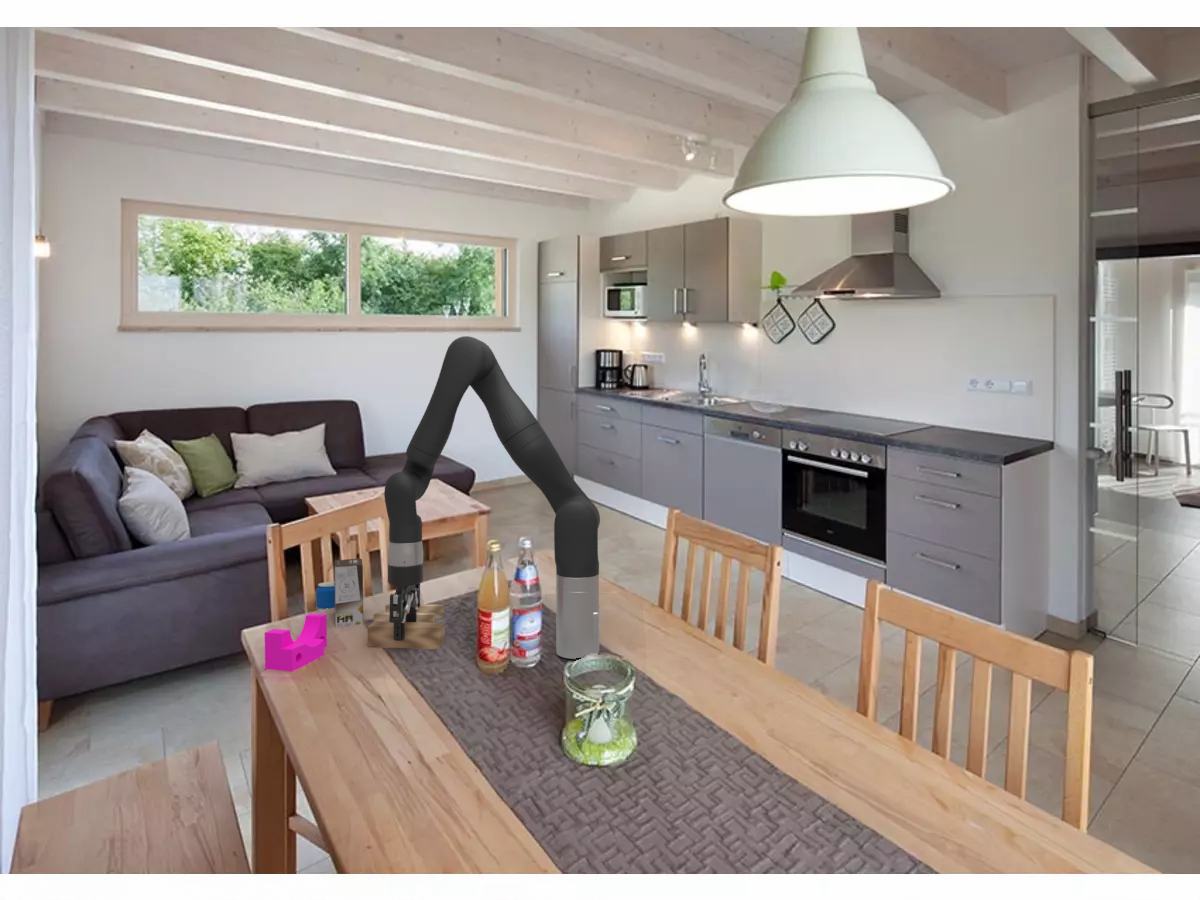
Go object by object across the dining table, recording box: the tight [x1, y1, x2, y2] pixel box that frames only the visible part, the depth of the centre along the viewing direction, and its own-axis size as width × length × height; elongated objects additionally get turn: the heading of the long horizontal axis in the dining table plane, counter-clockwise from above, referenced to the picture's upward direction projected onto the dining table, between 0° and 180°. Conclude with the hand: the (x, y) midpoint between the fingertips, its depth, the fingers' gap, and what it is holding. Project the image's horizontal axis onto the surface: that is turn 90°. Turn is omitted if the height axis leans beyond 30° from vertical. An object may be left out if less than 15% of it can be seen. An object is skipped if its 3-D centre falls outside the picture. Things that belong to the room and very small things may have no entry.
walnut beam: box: [367, 621, 446, 650], centre depth 155 cm, size 16×4×5 cm, turn 86°
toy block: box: [264, 613, 328, 672], centre depth 147 cm, size 15×6×8 cm, turn 167°
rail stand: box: [372, 603, 445, 623], centre depth 167 cm, size 16×13×5 cm
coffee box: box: [334, 558, 364, 628], centre depth 169 cm, size 9×6×16 cm
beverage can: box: [315, 580, 335, 610], centre depth 177 cm, size 6×6×12 cm
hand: (405, 634), depth 155 cm, fingers open, 8 cm apart
